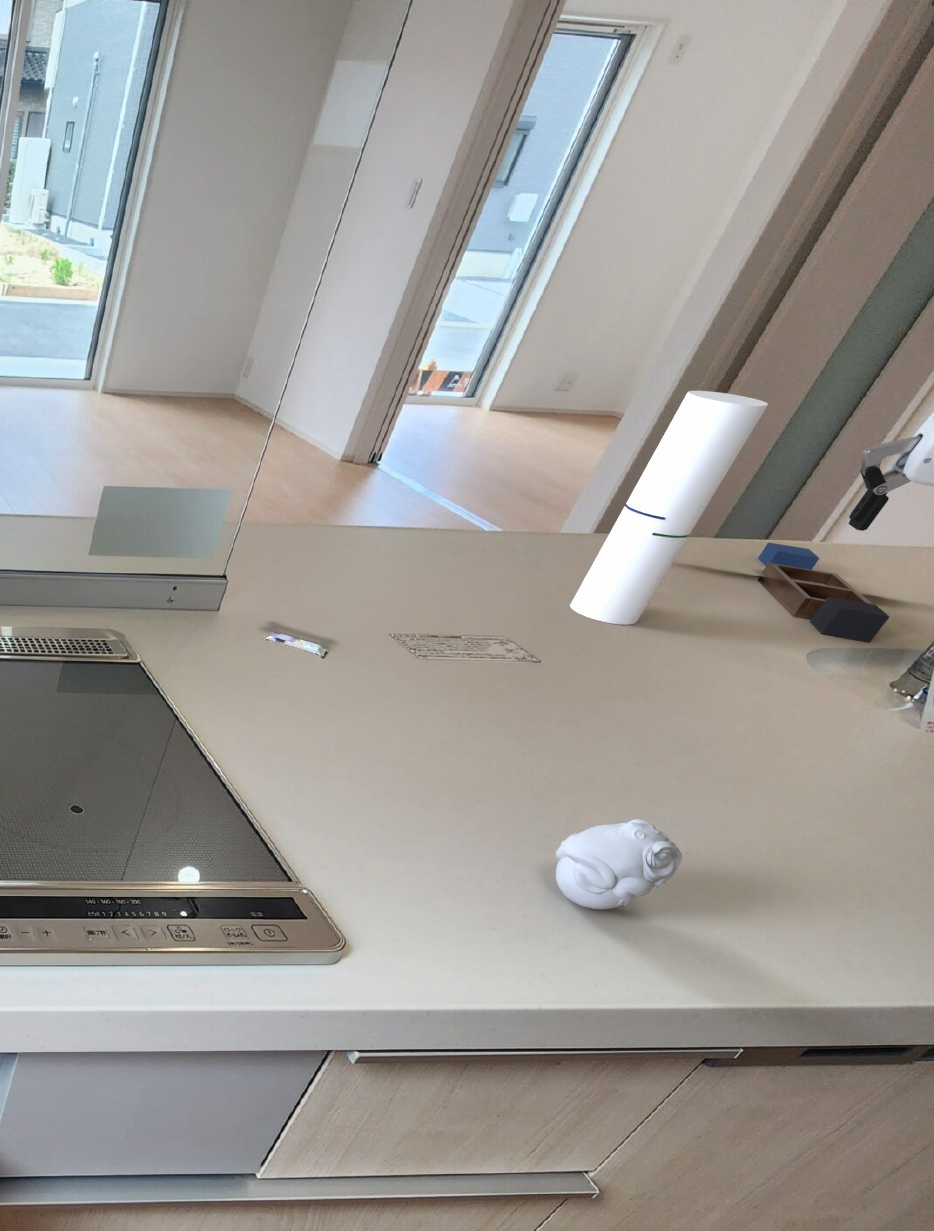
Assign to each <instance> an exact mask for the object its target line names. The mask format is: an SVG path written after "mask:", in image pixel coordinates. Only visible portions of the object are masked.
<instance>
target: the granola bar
mask: <svg viewBox="0 0 934 1231" xmlns="http://www.w3.org/2000/svg"><path fill="white" fill-rule="evenodd" d="M271 633H272V634H271V636H269V637H267V638H266V639H269V640H273V641H277V642H281V643H283V644H287V645H289V646H294V647H297V648H300V649H303V650H307V651H309V652H313V653H317V654H319V655H322V652H323V651H325V650H327V649H326V648H324V647H323V646H322V645H320V644H317V643H315V642H314V643H313V642H310V641H307V640H303V639H301V638H297V637H293V636H290V635H287V634H283V633H279V632H276V631H274V632H271ZM269 640H268V641H269Z"/></svg>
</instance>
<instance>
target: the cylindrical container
mask: <svg viewBox="0 0 934 1231" xmlns="http://www.w3.org/2000/svg"><path fill="white" fill-rule="evenodd" d="M768 406H769V403H768V402H766V401H764V400H761V399H758V398H757V399H756V398H754V397H748V396H743V395H738V394H732V393H725V392H719V391H718V392H717V391H710V390H689V391H687V393H686V394H685V396H684V398H683V400H682V401H681V403H680V405H679V407H678V409H677V411H676V413H675V414H674V416H673V418H672V420H671V422H669V425H668V427H667V429H666V431H665V432H664V435H663V436H662V438H661V440H660V442H659V443H658V445H657V447H656V448H655V451H654V452H653V454H652V456H651V458H650V460H649V461H648V463H647V465H646V467H645V469H643V472H642V474H641V476H640V477H639V479H638V481H637V483H636V485H635V487H634V488H633V490H632V492H631V494H630V495H629V498H628V499H627V501H626V503H625V505H624V507H623V509H622V510H621V512H620V514H619V515H618V518H617V519H616V521H615V523H614V525H613V527H612V528H611V530H610V532H609V534H608V536H607V538H606V539H605V541H604V543H603V545H602V547H601V548H600V550H599V552H598V554H597V556H596V557H595V559H594V561H593V563H592V564H591V566H590V568H589V570H588V572H587V573H586V575H585V577H584V579H583V581H582V583H581V584H580V586H579V588H578V590H577V592H576V594H575V595H574V597H573V599H572V600H571V602H570V604H569V606H570V608H571V610H573V611H574V612H576V613H578V614H579V615H582V616H583V617H586V618H588V619H592V620H595V621H598V622H603V623H607V624H613V625H621V626H629V625H630V626H631V625H635V624H637V622H638V621H639V619H640V618H641V616H642V614H643V613H644V611H645V610H646V607H647V606H648V604H649V603H650V601H651V599H652V598H653V596H654V594H655V593H656V591H657V589H658V588H659V586H660V584H662V583H661V582H662V581H663V580H664V578H665V576H666V574H667V573H668V571H669V569H670V568H671V566H672V564H673V563H674V562H675V560H676V558H677V556H678V555H679V553H680V552H681V550H682V548H683V546H684V545H685V543H686V541H687V540H688V539H689V536H690V535H691V533H692V531H693V529H694V528H695V526H696V525H697V523H698V521H700V518H701V517H702V515H703V514H704V511H705V510H706V508H707V507H708V505H709V503H710V502H711V500H712V498H713V497H714V495H715V493H716V492H717V490H718V488H719V487H720V485H721V484H722V482H723V480H724V479H725V477H726V475H727V473H728V472H729V470H730V468H731V467H732V465H733V464H734V462H735V460H736V458H737V457H738V455H739V454H740V452H741V451H742V449H743V447H744V445H745V444H746V442H747V440H748V439H749V437H750V436H751V434H752V432H753V430H754V429H755V427H756V425H757V424H758V422H759V420H760V419H761V417H762V416H763V414H764V412H765V410H766V409H767V407H768Z"/></svg>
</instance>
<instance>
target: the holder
mask: <svg viewBox="0 0 934 1231" xmlns="http://www.w3.org/2000/svg"><path fill="white" fill-rule="evenodd" d="M762 574H763V575H764V576H763V575H759V577H758V579H757V581H758V582H759V583H760V584H761V585H762V587H764V588H765V589H766V590H767V591H768V592H769V594H771V596H773V597H774V599H776V601H778V603H780V605H782V607H783V608H785V610H786V611H787V612H788V613H789V614H790V615H791V616H792V617H796V618H800V619H807V620H811V619H812V618H813V617H814V615H815V614H816V613H817V611H818V610H819V608H820V607H821V606H822V604H823V603H824V601H825V600H826V599H827V597H834V598H840V599H845V600H851V601H857V602H863V603H869V604H873V603H872V602H871V601H870V600H869V599H867V598H866V597H865V596H864V595H862V594H861V593H860V592H859V591H858V590H857V589H856V588H854V587H853V586H852V584H850V583H848V582H847V581H846V580H845V579H843V578H842V577H841V576H840V575H839V574H837V573H834V572H830V571H829V572H828V571H822V570H816V569H812V570H811V569H805V568H799V567H793V566H787V565H781V564H775V563H768V565H767V566H765V568H764V569H763V571H762Z"/></svg>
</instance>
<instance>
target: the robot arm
mask: <svg viewBox="0 0 934 1231" xmlns="http://www.w3.org/2000/svg"><path fill="white" fill-rule="evenodd" d="M861 453H862V454H861V468H860V470H859V471H860V472H859V473H860V475H861V477H862V480H863V482H864V487H865V489H866V491H865V492H864V493H863V495H862V496H861V498H860V500H859V501H858V502H857V504H856V505H855V506H854V508H853V509H852V511H851V512H850V514H849V517H848V518H849V521H848V526H850V527H852V528H854V530H857V531H862V532H863V531H866V530H868V529H869V527H870V526H871V525H872V523H873V522H874V521H875V520H876V518H877V517H878V515H879V513H881V511H882V510H883V508H884V507H885V506H886V504H887V503H888V502H889V499H890V497H889V496H887V495H888V493H889V492H891V491H894V490H896V489H898V488H900V487H902V486H904V485H906V484H908V483H910V482H912V483H915V484H917V485H918V484H919V485H924V486H930V487H934V411H933V412H932V413H931V415H929V416H928V417H927V418H926V420H925V421H924V422H923V423H922V425H921V426H920V427H919V428H918V429H917V430H916V432H915V433H914V434H913V435H912V436H911V437H907V438H902V439H898V440H897V439H896V440H893V441H888V442H884V443H880V444H875V445H871V446H870V445H869V446H867V447H865V448H864V449H863V450H862V452H861ZM895 455H897V457H896V459H895V460H894V462H893V464H892V467H891V469H890V470H887V471H885V472H883V471H882V470H881V464H882V461H883V459H884V458H886V457H890V456H895Z"/></svg>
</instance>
